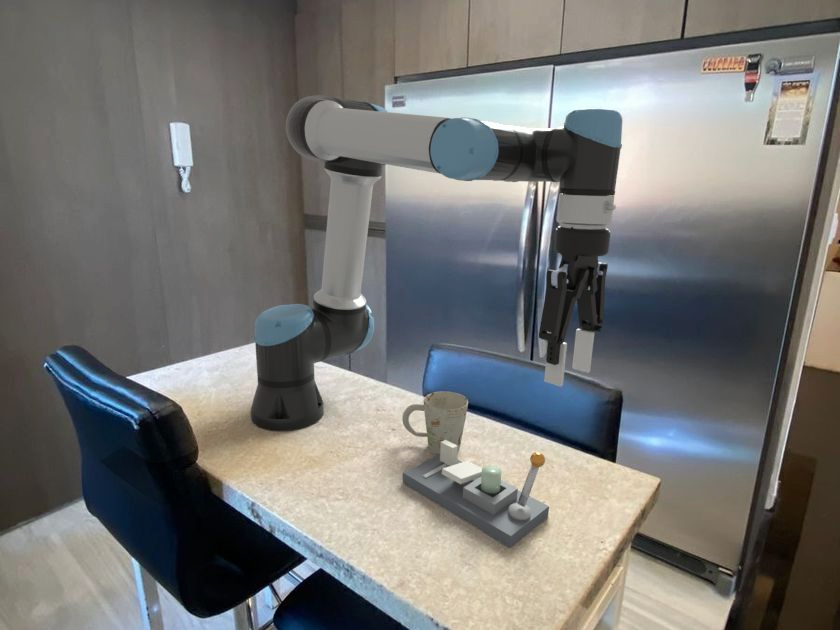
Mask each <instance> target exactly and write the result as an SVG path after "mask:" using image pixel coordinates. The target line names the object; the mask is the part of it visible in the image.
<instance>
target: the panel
mask: <svg viewBox="0 0 840 630" xmlns="http://www.w3.org/2000/svg"><path fill="white" fill-rule="evenodd" d="M462 462H463V461H461V460H459V459H458V458H457V464H459V463H462ZM446 467H449V465H447V464H445V463H443V462H441V461H440V454H438V455H437V454H435V455H434V456H432V457H430V458H429V459H427V460H425V461H423V462H421V463H419V464H416V465H415V466H413V467H411V468H409V469H407V470H406V471H404V472H402V484H403V485H405V486H407V487H409V488H410V489H412V490H413V491H415V492H416V493H418V494H419V495H421V496H423V497H425V498H426V499H428V500H430V501H432V502H433V503H435V504H436V505H438V506H440V507H441V508H443V509H444V510H446V511H448V512H450V513H452V515H455V516H456V517H458V518H459V519H461V520H462V521H464V522H465V523H468V524H469V525H471V526H472V527H474V528H476V529H477V530H479V531H481V532H482V533H484V534H486V535H487V536H489V537H490V538H492V539H494V540H496V541H497V542H499V543H500V544H502V545H504V546H505V547H507V548H509V549H511V548H512V547H513V546H515V545H516V544H517V543H519V542H520V541H521V540H522V539H524V538H525V537H526V536H527V535H528V534H529V533H531V532H532V531H533V530H535V529H536V528H537V527H538V526H539V525H541V524H542V523H543V522H544V521H546V520H547V519H548V518H549V511H550V506H549V505H548V504H546V503H544V502H542V501H540V500H538V499H536V498H534V497H532V496H530V495H529V497H528V500H527V503H526V505H525V507H523V506H521V505H519V504H517V503H518V500H519V497H520V495H521V492H522V491H520V490H519V488H518V487H516V486H514V485H512V484H510V483H508V482H506V481H504V480H502V479H501V487H500V491H499V492H498V493H494V494H490V493H486V492H484V491H483V490H482V489H481V477H482V476H481V477H479V478H477V479H474V480H471V481H468V482H465V483H463V484H459V483H457V482H455V481H454V480H452V479H450V478H448V477H446V476H445V475H443V474H442V469H443V468H446Z"/></svg>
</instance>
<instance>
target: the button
mask: <svg viewBox="0 0 840 630" xmlns="http://www.w3.org/2000/svg"><path fill="white" fill-rule="evenodd" d="M481 468H482V477H481V489H482V490H483V491H484V492H486V493H490V494H494V493H498V492H499V491H500V487H501V480H502V472H503V471H502V469H501V468H500V467H499V466H495V465H485V466H484V467H481Z"/></svg>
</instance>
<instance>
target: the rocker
mask: <svg viewBox="0 0 840 630" xmlns="http://www.w3.org/2000/svg"><path fill="white" fill-rule="evenodd" d="M461 462H462V463H459V464H456V465H452V466H449V467H446V468H443V469H442V474H443V475H445V476H446V477H448V478H450V479H452V480H454V481H455V482H457V483H459V484H463V483H465V482H468V481H471V480H474V479H477V478H479V477H481V476H482V468H483V467H480V466H478V465H476V464H475V463H472V462H471V461H469V460H465V461H461Z"/></svg>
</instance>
